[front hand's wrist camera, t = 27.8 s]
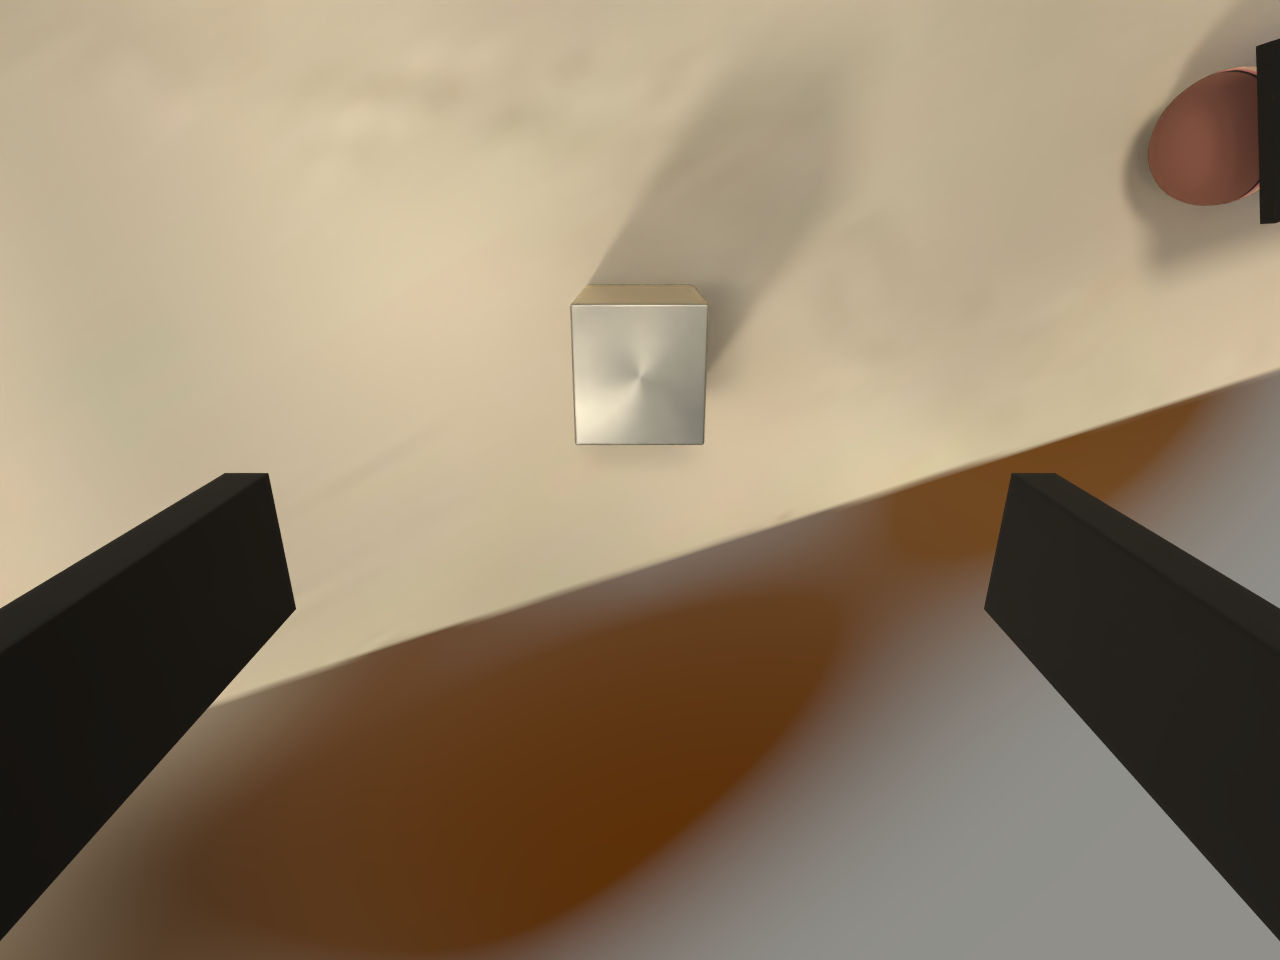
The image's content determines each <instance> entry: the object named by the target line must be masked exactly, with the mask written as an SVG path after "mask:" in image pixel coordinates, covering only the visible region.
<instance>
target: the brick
mask: <svg viewBox="0 0 1280 960" xmlns="http://www.w3.org/2000/svg"><path fill="white" fill-rule="evenodd" d="M570 312H571V340H572V369H573V397H574V426H575V444H576V445H703V444H704V433H705V404H706V376H707V347H708V318H709V305H708V303H707V302H706V301H705V300H704V299H703V297H702V296H701V295H700V294H699V293H698V291H697V290H696V289H695V288H694V287H693V285H587V286H586V287H585V288H584V289H583V291H582V292H581V293H580V294H579V295H578V296H577V298H576V299H575V300H574V301H573V302H572V304H571V305H570Z"/></svg>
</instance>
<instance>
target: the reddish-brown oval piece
mask: <svg viewBox="0 0 1280 960" xmlns="http://www.w3.org/2000/svg"><path fill="white" fill-rule="evenodd" d="M1256 63H1257V67H1256V66H1245V67H1236V68H1231V69H1227V70H1223V71H1219V72H1217V73H1214V74H1212V75H1210V76H1207V77H1205V78H1203V79H1201V80H1199V81H1198V82H1196V83H1195V84H1193V85H1191V86H1190V87H1189V88H1187V89H1186V90H1185V91H1183V92H1182V93H1181V94H1180V95H1179V96H1177V97H1176V98H1175V99H1174V100H1173V101H1172V103H1171V104H1170V105H1169V106H1168V107H1167V108H1166V110H1165V111H1164V112H1163V114H1162V115H1161V117H1160V118H1159V120H1158V122H1157V124H1156V126H1155V128H1154V130H1153V133H1152V136H1151V139H1150V143H1149V150H1148V159H1149V166H1150V170H1151V173H1152V176H1153V178H1154V179H1155V181H1156V183H1157V184H1158V185H1159V187H1160V188H1161V189H1162V190H1163V191H1164V192H1166V193H1167V194H1168V195H1170V196H1171V197H1173V198H1175V199H1177V200H1179V201H1182V202H1185V203H1189V204H1194V205H1218V204H1224V203H1229V202H1233V201H1236V200H1239V199H1241V198H1244V197H1247V196H1249V195H1251V194H1253V193H1255V192H1256V191H1258V190H1260V224H1269V223H1277V222H1280V39H1277V40H1274V41H1271V42H1268V43H1265V44H1262V45H1259V46H1256Z"/></svg>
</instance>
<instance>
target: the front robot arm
mask: <svg viewBox="0 0 1280 960" xmlns="http://www.w3.org/2000/svg"><path fill="white" fill-rule="evenodd" d="M984 609H985V611H986V612H987V613H988V614H989V615H990V616H991V617H992V618H993V620H994V621H995V622H996V623H997V624H998V625H999V626H1000V627H1001V629H1002V630H1003V631H1004V632H1005V633H1006V634H1007V635H1008V636H1009V637H1010V639H1011V640H1012V641H1013V642H1014V643H1015V644H1016V645H1017V647H1018V648H1019V649H1020V650H1021V651H1022V652H1023V653H1024V654H1025V656H1026V657H1027V658H1028V659H1029V660H1030V661H1031V662H1032V663H1033V664H1034V666H1035V667H1036V668H1037V669H1038V670H1039V671H1040V672H1041V673H1042V674H1043V676H1044V677H1045V678H1046V679H1047V680H1048V681H1049V682H1050V684H1051V685H1052V686H1053V687H1054V688H1055V689H1056V690H1057V691H1058V692H1059V694H1060V695H1061V696H1062V697H1063V698H1064V699H1065V700H1066V702H1067V703H1068V704H1069V705H1070V706H1071V707H1072V708H1073V709H1074V710H1075V712H1076V713H1077V714H1078V715H1079V716H1080V717H1081V718H1082V719H1083V721H1084V722H1085V723H1086V724H1087V725H1088V726H1089V727H1090V728H1091V730H1092V731H1093V732H1094V733H1095V734H1096V735H1097V736H1098V737H1099V739H1100V740H1101V741H1102V742H1103V743H1104V744H1105V745H1106V746H1107V748H1108V749H1109V750H1110V751H1111V752H1112V753H1113V754H1114V755H1115V757H1116V758H1117V759H1118V760H1119V761H1120V762H1121V763H1122V764H1123V765H1124V767H1125V768H1126V769H1127V770H1128V771H1129V772H1130V773H1131V774H1132V776H1133V777H1134V778H1135V779H1136V780H1137V781H1138V782H1139V783H1140V785H1141V786H1142V787H1143V788H1144V789H1145V790H1146V791H1147V792H1148V794H1149V795H1150V796H1151V797H1152V798H1153V799H1154V800H1155V801H1156V803H1157V804H1158V805H1159V806H1160V807H1161V808H1162V809H1163V810H1164V812H1165V813H1166V814H1167V815H1168V816H1169V817H1170V818H1171V819H1172V820H1173V822H1174V823H1175V824H1176V825H1177V826H1178V827H1179V828H1180V829H1181V831H1182V832H1183V833H1184V834H1185V835H1186V836H1187V837H1188V838H1189V840H1190V841H1191V842H1192V843H1193V844H1194V845H1195V846H1196V847H1197V848H1198V850H1199V851H1200V852H1201V853H1202V854H1203V855H1204V856H1205V858H1206V859H1207V860H1208V861H1209V862H1210V863H1211V864H1212V865H1213V866H1214V868H1215V869H1216V870H1217V871H1218V872H1219V873H1220V874H1221V875H1222V876H1223V878H1224V879H1225V880H1226V881H1227V882H1228V883H1229V884H1230V886H1231V887H1232V888H1233V889H1234V890H1235V891H1236V892H1237V893H1238V895H1239V896H1240V897H1241V898H1242V899H1243V900H1244V901H1245V902H1246V903H1247V905H1248V906H1249V907H1250V908H1251V909H1252V910H1253V911H1254V912H1255V914H1256V915H1257V916H1258V917H1259V918H1260V919H1261V920H1262V921H1263V923H1264V924H1265V925H1266V926H1267V927H1268V928H1269V929H1270V930H1271V932H1272V933H1273V934H1274V935H1275V936H1276V937H1277V938H1278V939H1279V941H1280V608H1278V607H1276V606H1275V605H1273V604H1271V603H1270V602H1268V601H1266V600H1265V599H1263V598H1261V597H1260V596H1258V595H1256V594H1255V593H1253V592H1251V591H1250V590H1248V589H1246V588H1245V587H1243V586H1241V585H1240V584H1238V583H1236V582H1235V581H1233V580H1231V579H1230V578H1228V577H1226V576H1225V575H1223V574H1221V573H1220V572H1218V571H1216V570H1215V569H1213V568H1211V567H1210V566H1208V565H1206V564H1205V563H1203V562H1202V561H1200V560H1198V559H1197V558H1195V557H1193V556H1192V555H1190V554H1188V553H1187V552H1185V551H1183V550H1182V549H1180V548H1178V547H1177V546H1175V545H1173V544H1172V543H1170V542H1168V541H1167V540H1165V539H1163V538H1162V537H1160V536H1158V535H1157V534H1155V533H1153V532H1152V531H1150V530H1148V529H1147V528H1145V527H1144V526H1142V525H1140V524H1138V523H1137V522H1135V521H1134V520H1132V519H1130V518H1129V517H1127V516H1125V515H1124V514H1122V513H1120V512H1119V511H1117V510H1115V509H1114V508H1112V507H1110V506H1109V505H1107V504H1105V503H1104V502H1102V501H1100V500H1099V499H1097V498H1095V497H1094V496H1092V495H1090V494H1089V493H1087V492H1085V491H1084V490H1082V489H1080V488H1079V487H1077V486H1075V485H1074V484H1072V483H1070V482H1069V481H1067V480H1066V479H1064V478H1062V477H1061V476H1059V475H1057V474H1056V473H1012V474H1011V479H1010V484H1009V489H1008V494H1007V499H1006V504H1005V509H1004V514H1003V518H1002V523H1001V528H1000V533H999V538H998V543H997V548H996V553H995V558H994V563H993V567H992V572H991V577H990V582H989V587H988V592H987V597H986V602H985V607H984ZM295 610H296V607H295V602H294V597H293V592H292V587H291V582H290V577H289V572H288V567H287V563H286V558H285V553H284V548H283V543H282V538H281V533H280V528H279V523H278V518H277V514H276V509H275V504H274V499H273V494H272V489H271V484H270V479H269V474H268V473H224V474H223V475H221V476H219V477H218V478H216V479H214V480H213V481H211V482H209V483H208V484H206V485H204V486H203V487H201V488H200V489H198V490H196V491H195V492H193V493H191V494H190V495H188V496H186V497H185V498H183V499H181V500H180V501H178V502H176V503H175V504H173V505H171V506H170V507H168V508H166V509H165V510H163V511H161V512H160V513H158V514H156V515H155V516H153V517H151V518H150V519H148V520H146V521H145V522H143V523H141V524H140V525H138V526H136V527H135V528H133V529H132V530H130V531H128V532H127V533H125V534H123V535H122V536H120V537H118V538H117V539H115V540H113V541H112V542H110V543H108V544H107V545H105V546H103V547H102V548H100V549H98V550H97V551H95V552H93V553H92V554H90V555H88V556H87V557H85V558H83V559H82V560H80V561H78V562H77V563H75V564H73V565H72V566H70V567H68V568H67V569H65V570H64V571H62V572H60V573H59V574H57V575H55V576H54V577H52V578H50V579H49V580H47V581H45V582H44V583H42V584H40V585H39V586H37V587H35V588H34V589H32V590H30V591H29V592H27V593H25V594H24V595H22V596H20V597H19V598H17V599H15V600H14V601H12V602H10V603H9V604H7V605H5V606H4V607H2V608H0V941H1V939H2V938H3V937H4V936H5V935H6V934H7V933H8V932H9V930H10V929H11V928H12V927H13V926H14V925H15V924H16V923H17V921H18V920H19V919H20V918H21V917H22V916H23V915H24V914H25V913H26V911H27V910H28V909H29V908H30V907H31V906H32V905H33V904H34V902H35V901H36V900H37V899H38V898H39V897H40V896H41V894H42V893H43V892H44V891H45V890H46V889H47V888H48V887H49V886H50V884H51V883H52V882H53V881H54V880H55V879H56V878H57V877H58V875H59V874H60V873H61V872H62V871H63V870H64V869H65V868H66V866H67V865H68V864H69V863H70V862H71V861H72V860H73V859H74V858H75V856H76V855H77V854H78V853H79V852H80V851H81V850H82V849H83V847H84V846H85V845H86V844H87V843H88V842H89V841H90V840H91V838H92V837H93V836H94V835H95V834H96V833H97V832H98V831H99V829H100V828H101V827H102V826H103V825H104V824H105V823H106V822H107V820H108V819H109V818H110V817H111V816H112V815H113V814H114V813H115V811H116V810H117V809H118V808H119V807H120V806H121V805H122V804H123V802H124V801H125V800H126V799H127V798H128V797H129V796H130V795H131V794H132V792H133V791H134V790H135V789H136V788H137V787H138V786H139V785H140V783H141V782H142V781H143V780H144V779H145V778H146V777H147V776H148V774H149V773H150V772H151V771H152V770H153V769H154V768H155V767H156V765H157V764H158V763H159V762H160V761H161V760H162V759H163V758H164V757H165V755H166V754H167V753H168V752H169V751H170V750H171V749H172V747H173V746H174V745H175V744H176V743H177V742H178V741H179V740H180V739H181V737H182V736H183V735H184V734H185V733H186V732H187V731H188V730H189V728H190V727H191V726H192V725H193V724H194V723H195V722H196V721H197V719H198V718H199V717H200V716H201V715H202V714H203V713H204V712H205V711H206V709H207V708H208V707H209V706H210V705H211V704H212V703H213V702H214V700H215V699H216V698H217V697H218V696H219V695H220V694H221V693H222V691H223V690H224V689H225V688H226V687H227V686H228V685H229V684H230V682H231V681H232V680H233V679H234V678H235V677H236V676H237V675H238V673H239V672H240V671H241V670H242V669H243V668H244V667H245V666H246V664H247V663H248V662H249V661H250V660H251V659H252V658H253V657H254V656H255V654H256V653H257V652H258V651H259V650H260V649H261V648H262V647H263V645H264V644H265V643H266V642H267V641H268V640H269V639H270V638H271V636H272V635H273V634H274V633H275V632H276V631H277V630H278V629H279V627H280V626H281V625H282V624H283V623H284V622H285V621H286V620H287V618H288V617H289V616H290V615H291V614H292V613H293V612H294V611H295Z"/></svg>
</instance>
